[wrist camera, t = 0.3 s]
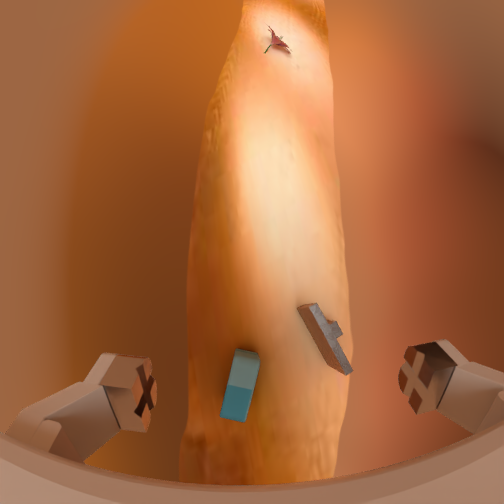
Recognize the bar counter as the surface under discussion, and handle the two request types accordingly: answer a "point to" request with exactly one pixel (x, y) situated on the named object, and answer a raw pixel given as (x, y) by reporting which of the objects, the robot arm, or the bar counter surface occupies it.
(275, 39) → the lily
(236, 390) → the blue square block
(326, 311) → the bar counter surface
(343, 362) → the bookend
